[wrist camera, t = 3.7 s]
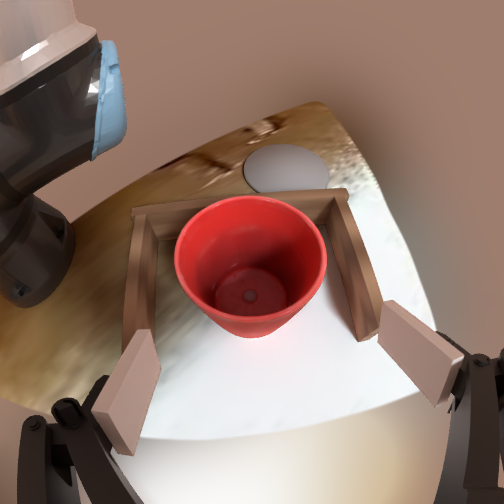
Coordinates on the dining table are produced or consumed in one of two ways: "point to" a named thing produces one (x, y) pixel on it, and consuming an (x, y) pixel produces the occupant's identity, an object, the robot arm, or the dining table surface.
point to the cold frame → (307, 201)
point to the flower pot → (250, 263)
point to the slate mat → (285, 169)
